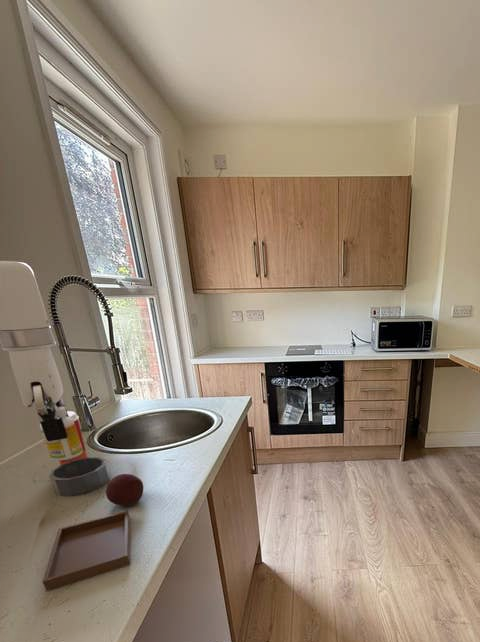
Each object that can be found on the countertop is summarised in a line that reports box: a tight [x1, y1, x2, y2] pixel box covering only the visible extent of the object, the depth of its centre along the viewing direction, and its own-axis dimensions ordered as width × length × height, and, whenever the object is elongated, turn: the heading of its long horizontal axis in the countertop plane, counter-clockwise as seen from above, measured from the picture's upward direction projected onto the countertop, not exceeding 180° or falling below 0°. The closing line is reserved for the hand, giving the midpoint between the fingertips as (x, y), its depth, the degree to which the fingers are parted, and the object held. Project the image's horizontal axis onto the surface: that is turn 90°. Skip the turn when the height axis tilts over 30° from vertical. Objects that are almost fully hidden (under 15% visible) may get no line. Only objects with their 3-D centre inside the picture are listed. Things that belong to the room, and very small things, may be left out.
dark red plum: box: [105, 473, 144, 507], centre depth 79 cm, size 7×8×7 cm
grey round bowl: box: [48, 456, 111, 497], centre depth 87 cm, size 12×12×4 cm
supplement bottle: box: [39, 407, 83, 462], centre depth 68 cm, size 5×5×10 cm
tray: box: [42, 510, 131, 592], centre depth 65 cm, size 12×15×2 cm
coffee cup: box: [58, 410, 88, 465], centre depth 94 cm, size 8×8×15 cm
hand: (59, 432), depth 68 cm, fingers closed on supplement bottle, 5 cm apart
